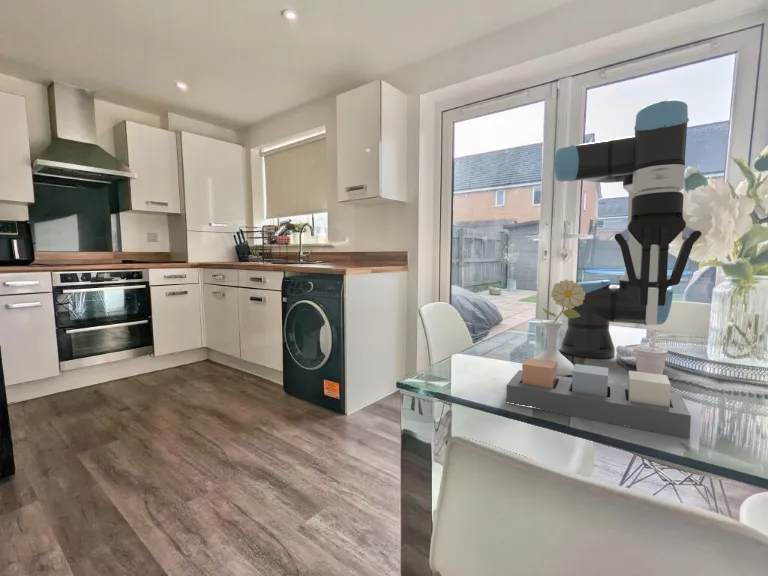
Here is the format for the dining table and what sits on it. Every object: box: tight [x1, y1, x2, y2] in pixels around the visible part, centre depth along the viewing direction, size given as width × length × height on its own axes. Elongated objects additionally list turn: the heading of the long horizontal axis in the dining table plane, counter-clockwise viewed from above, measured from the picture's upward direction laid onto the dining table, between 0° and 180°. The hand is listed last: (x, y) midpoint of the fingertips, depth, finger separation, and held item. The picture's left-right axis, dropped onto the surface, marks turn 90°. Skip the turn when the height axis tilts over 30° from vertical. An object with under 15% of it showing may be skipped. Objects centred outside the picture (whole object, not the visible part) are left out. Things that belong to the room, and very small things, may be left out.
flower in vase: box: [532, 279, 585, 377], centre depth 96 cm, size 13×11×25 cm
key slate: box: [571, 363, 609, 397], centre depth 74 cm, size 6×6×5 cm
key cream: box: [627, 370, 672, 407], centre depth 69 cm, size 6×6×5 cm
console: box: [505, 369, 692, 440], centre depth 74 cm, size 12×30×4 cm, turn 58°
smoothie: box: [632, 329, 669, 375], centre depth 84 cm, size 6×6×14 cm
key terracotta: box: [522, 357, 557, 389], centre depth 79 cm, size 6×6×5 cm
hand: (651, 322), depth 68 cm, fingers closed
